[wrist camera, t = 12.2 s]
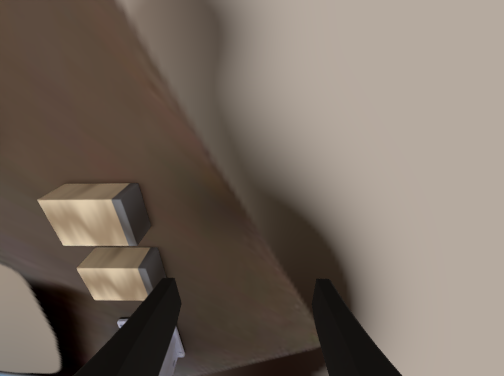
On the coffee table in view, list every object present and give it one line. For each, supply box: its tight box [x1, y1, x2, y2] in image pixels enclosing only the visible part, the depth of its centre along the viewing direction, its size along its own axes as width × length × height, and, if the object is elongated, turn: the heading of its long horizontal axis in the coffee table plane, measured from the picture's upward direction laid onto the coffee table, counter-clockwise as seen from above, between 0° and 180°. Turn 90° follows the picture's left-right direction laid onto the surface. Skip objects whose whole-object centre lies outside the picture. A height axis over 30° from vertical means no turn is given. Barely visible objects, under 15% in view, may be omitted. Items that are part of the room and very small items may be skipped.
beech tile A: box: [77, 247, 167, 300], centre depth 24 cm, size 5×3×7 cm
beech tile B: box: [38, 183, 151, 246], centre depth 20 cm, size 5×3×7 cm
